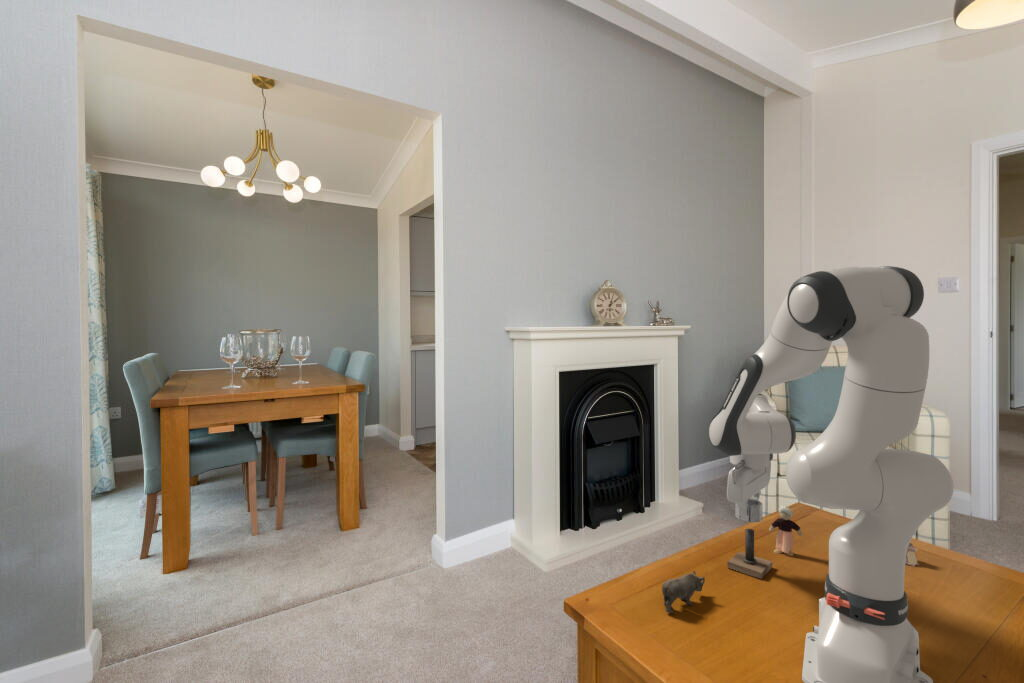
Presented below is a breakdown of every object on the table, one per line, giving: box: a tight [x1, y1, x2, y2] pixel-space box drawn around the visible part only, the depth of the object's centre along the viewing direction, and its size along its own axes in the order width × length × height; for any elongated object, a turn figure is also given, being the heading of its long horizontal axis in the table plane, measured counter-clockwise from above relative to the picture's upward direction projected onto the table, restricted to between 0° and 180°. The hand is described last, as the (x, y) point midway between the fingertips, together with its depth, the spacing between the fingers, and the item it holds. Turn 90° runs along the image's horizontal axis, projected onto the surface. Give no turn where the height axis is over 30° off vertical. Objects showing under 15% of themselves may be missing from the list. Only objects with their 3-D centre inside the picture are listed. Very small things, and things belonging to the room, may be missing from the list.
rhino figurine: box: [661, 570, 706, 614], centre depth 107 cm, size 4×14×6 cm, turn 121°
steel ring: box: [734, 498, 763, 523], centre depth 122 cm, size 6×6×4 cm
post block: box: [726, 528, 773, 580], centre depth 122 cm, size 8×8×10 cm
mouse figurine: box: [905, 542, 920, 567], centre depth 125 cm, size 5×8×7 cm, turn 22°
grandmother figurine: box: [768, 505, 803, 557], centre depth 129 cm, size 8×4×13 cm, turn 73°
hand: (748, 511), depth 122 cm, fingers closed on steel ring, 6 cm apart
